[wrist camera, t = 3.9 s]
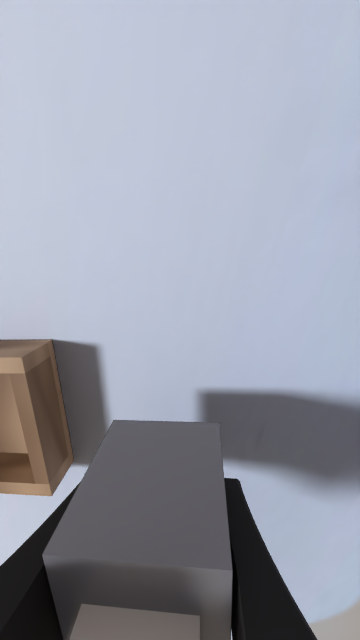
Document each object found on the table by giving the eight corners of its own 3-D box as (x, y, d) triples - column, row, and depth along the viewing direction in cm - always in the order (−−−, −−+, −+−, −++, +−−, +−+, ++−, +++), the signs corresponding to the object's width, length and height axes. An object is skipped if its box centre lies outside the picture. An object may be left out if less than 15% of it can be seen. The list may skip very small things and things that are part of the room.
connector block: (219, 422, 10) (235, 607, 5) (218, 506, 12) (231, 728, 6) (113, 419, 11) (25, 586, 5) (123, 500, 12) (58, 703, 7)
